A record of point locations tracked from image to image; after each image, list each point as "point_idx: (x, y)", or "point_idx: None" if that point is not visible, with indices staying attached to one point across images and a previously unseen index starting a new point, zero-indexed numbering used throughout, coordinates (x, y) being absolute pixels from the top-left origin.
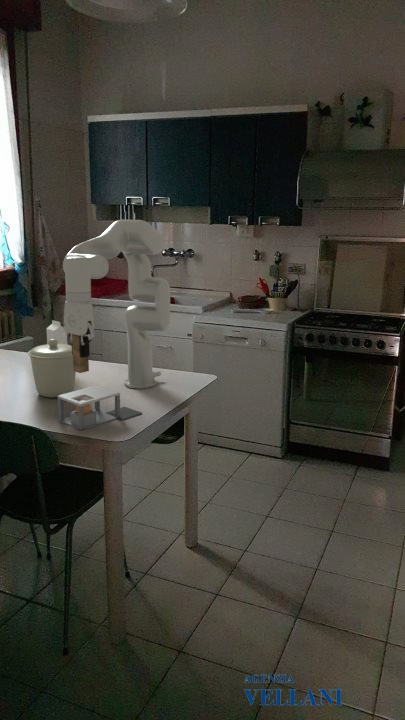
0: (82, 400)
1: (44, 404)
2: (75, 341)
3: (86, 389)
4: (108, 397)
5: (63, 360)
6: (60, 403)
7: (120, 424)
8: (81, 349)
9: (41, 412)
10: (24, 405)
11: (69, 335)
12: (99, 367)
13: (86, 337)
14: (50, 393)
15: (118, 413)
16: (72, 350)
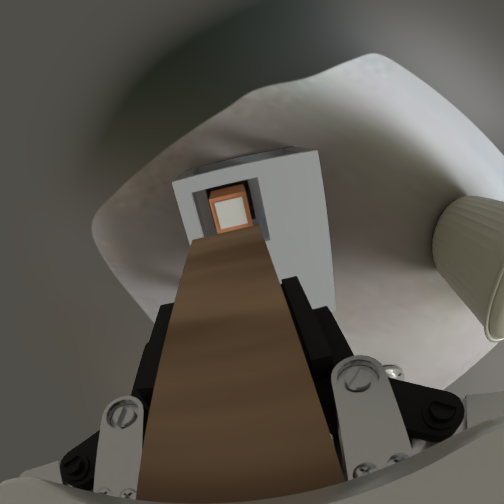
0: (243, 216)
1: (423, 177)
2: (228, 402)
3: (317, 267)
4: None
5: (488, 283)
6: (297, 152)
7: (176, 273)
8: (148, 356)
9: (381, 141)
10: (440, 137)
11: (440, 404)
12: (477, 348)
13: (70, 482)
14: (447, 211)
15: None
16: (298, 299)
